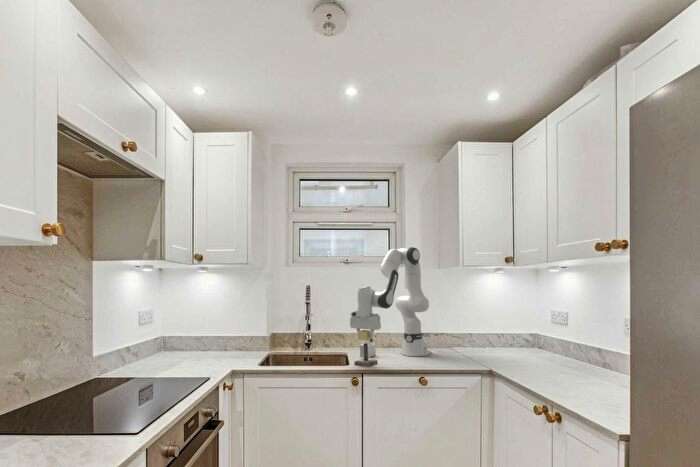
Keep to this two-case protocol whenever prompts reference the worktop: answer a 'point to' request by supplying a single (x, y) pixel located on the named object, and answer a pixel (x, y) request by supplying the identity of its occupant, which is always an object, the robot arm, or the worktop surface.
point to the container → (370, 348)
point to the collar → (364, 335)
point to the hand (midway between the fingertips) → (365, 336)
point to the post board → (365, 358)
